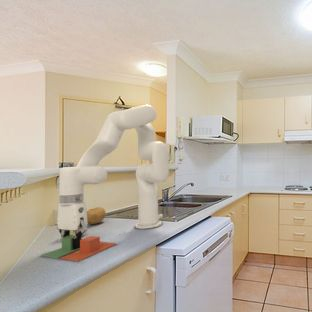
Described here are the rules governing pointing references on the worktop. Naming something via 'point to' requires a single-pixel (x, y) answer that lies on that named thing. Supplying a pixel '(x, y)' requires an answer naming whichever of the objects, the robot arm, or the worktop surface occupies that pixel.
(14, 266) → the worktop surface
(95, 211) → the potato
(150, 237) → the worktop surface
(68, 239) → the sage block
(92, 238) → the terracotta block
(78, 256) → the sorting mat
